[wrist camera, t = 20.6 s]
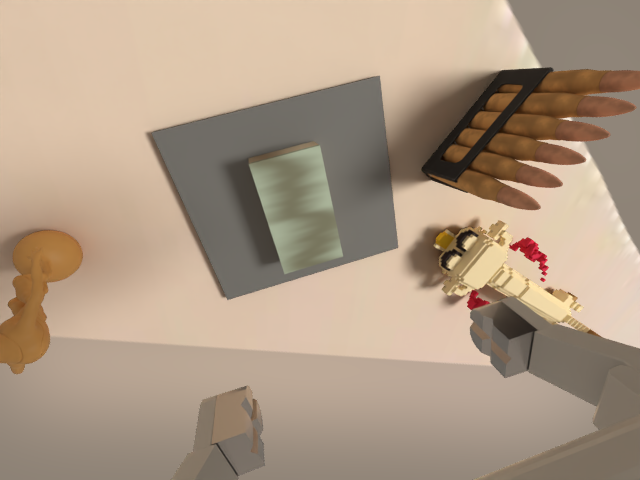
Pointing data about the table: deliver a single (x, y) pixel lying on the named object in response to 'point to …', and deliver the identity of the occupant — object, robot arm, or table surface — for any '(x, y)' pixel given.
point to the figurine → (35, 294)
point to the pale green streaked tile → (297, 205)
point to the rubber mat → (241, 193)
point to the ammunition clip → (526, 130)
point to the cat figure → (500, 272)
